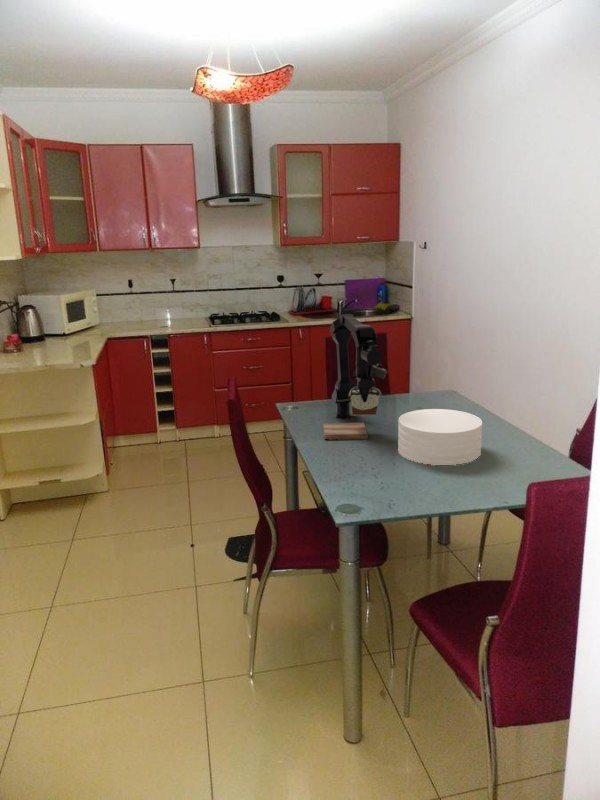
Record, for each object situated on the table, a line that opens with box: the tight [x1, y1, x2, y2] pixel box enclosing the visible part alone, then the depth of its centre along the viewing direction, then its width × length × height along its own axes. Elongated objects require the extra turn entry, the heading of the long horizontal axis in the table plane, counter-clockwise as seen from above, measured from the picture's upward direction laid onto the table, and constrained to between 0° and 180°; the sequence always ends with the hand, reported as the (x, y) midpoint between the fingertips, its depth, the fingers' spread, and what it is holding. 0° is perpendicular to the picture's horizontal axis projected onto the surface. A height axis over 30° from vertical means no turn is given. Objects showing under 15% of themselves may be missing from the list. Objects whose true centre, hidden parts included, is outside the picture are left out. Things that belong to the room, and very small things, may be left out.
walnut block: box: [322, 422, 368, 441], centre depth 228 cm, size 14×16×2 cm
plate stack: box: [397, 408, 483, 466], centre depth 205 cm, size 28×28×12 cm
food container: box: [349, 385, 382, 416], centre depth 227 cm, size 12×6×10 cm, turn 91°
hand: (363, 399), depth 226 cm, fingers closed on food container, 6 cm apart
